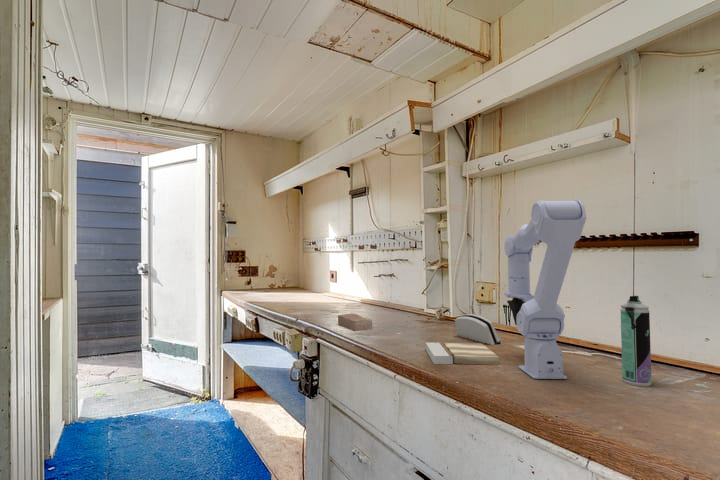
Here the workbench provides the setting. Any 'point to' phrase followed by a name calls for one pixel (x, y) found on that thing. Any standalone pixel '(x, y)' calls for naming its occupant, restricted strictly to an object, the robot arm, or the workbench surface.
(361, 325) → the brick
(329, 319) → the workbench surface
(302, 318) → the workbench surface
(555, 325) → the robot arm
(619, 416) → the workbench surface
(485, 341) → the grey curved block
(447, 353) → the board
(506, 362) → the workbench surface
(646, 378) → the spray can
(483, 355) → the brass metal plate
